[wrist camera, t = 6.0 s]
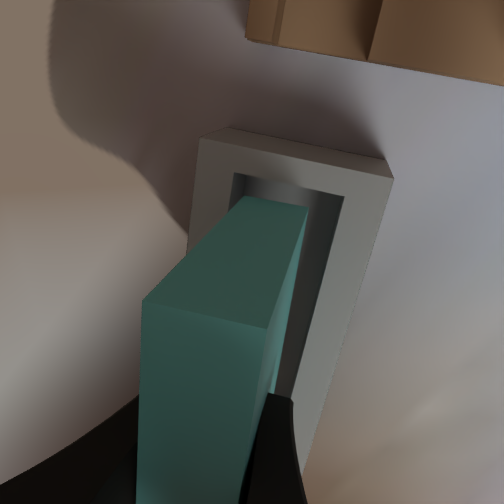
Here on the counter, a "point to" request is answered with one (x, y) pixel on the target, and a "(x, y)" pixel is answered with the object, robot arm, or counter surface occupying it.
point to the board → (215, 355)
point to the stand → (313, 245)
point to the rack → (390, 33)
